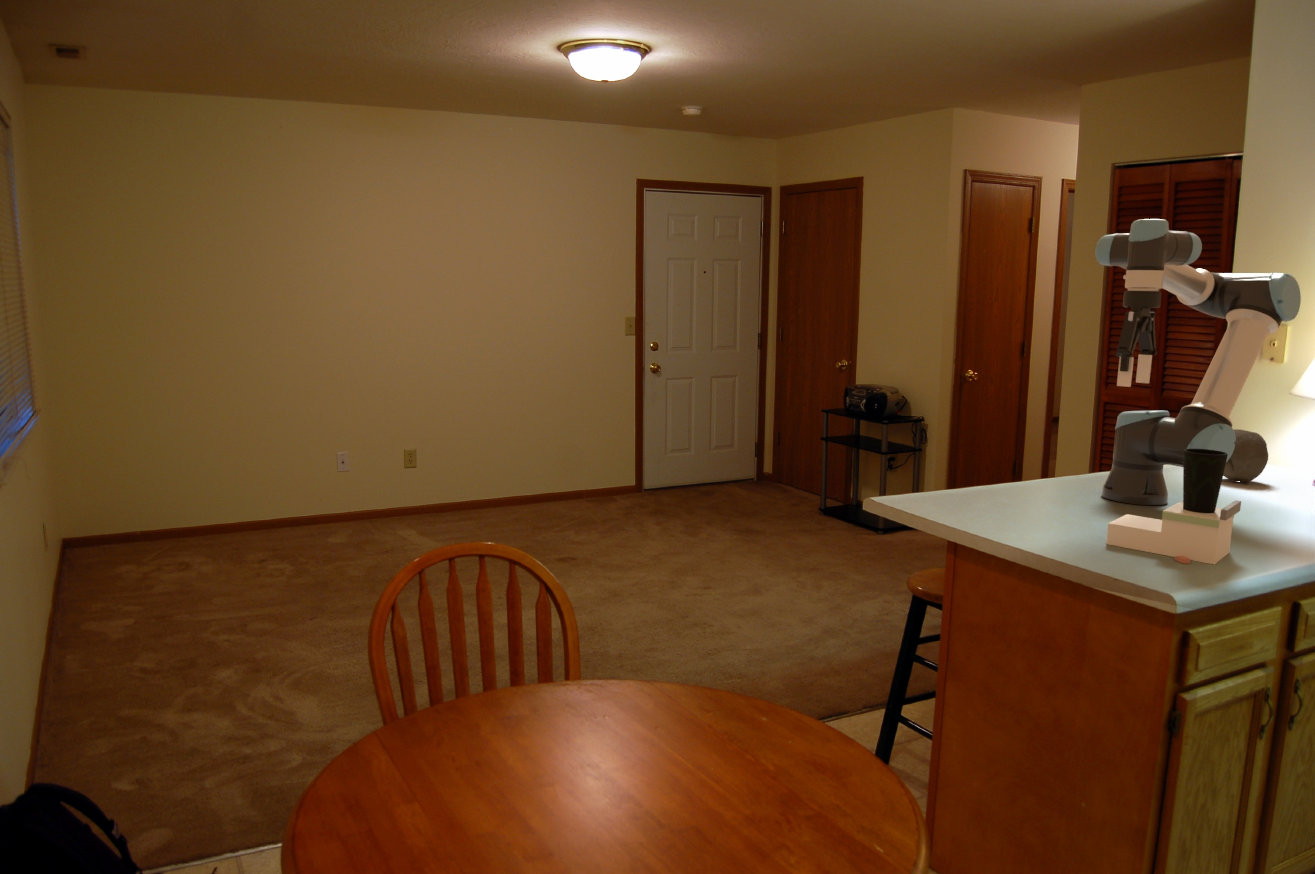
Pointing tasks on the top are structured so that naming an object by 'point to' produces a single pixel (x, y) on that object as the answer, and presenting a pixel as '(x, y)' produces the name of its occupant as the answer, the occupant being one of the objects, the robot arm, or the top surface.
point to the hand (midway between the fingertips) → (1133, 384)
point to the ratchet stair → (1178, 533)
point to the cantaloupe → (1246, 457)
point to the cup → (1202, 479)
